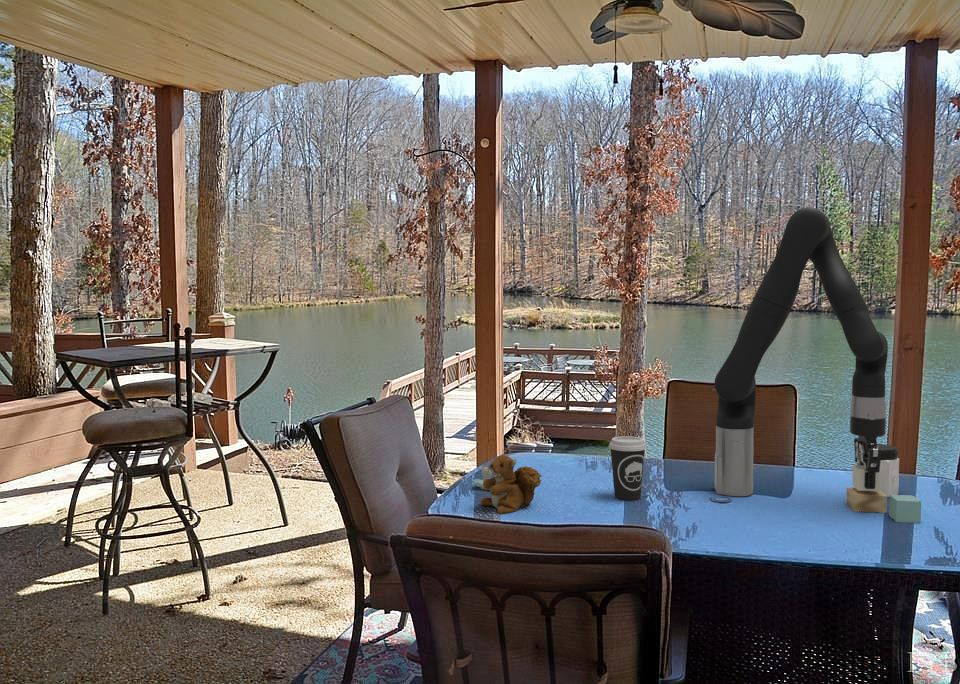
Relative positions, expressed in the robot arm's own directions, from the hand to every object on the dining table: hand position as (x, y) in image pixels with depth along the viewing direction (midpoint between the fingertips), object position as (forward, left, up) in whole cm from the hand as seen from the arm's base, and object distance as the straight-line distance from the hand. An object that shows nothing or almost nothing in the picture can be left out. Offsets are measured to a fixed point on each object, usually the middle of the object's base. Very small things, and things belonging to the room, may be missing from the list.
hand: (866, 485), depth 184 cm
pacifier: (-93, +4, -6) cm, 93 cm away
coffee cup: (-56, +1, -6) cm, 56 cm away
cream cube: (0, 0, -1) cm, 1 cm away
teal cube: (+6, -8, -6) cm, 11 cm away
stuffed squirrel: (-84, -12, -6) cm, 85 cm away
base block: (0, 0, -6) cm, 6 cm away
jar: (+7, +15, -6) cm, 18 cm away
